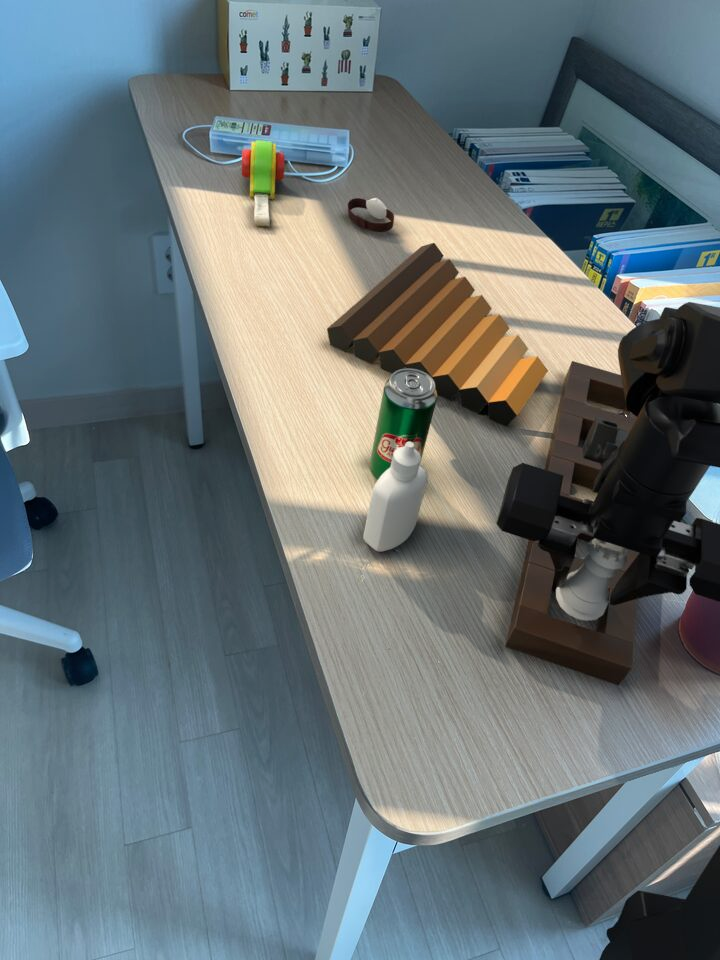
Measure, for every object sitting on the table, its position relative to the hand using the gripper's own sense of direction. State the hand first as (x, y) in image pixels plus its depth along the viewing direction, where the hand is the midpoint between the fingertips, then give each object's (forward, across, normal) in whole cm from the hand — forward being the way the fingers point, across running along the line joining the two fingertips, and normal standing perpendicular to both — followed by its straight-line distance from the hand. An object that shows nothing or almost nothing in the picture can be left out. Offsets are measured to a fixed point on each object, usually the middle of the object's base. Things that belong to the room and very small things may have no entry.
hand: (585, 591), depth 65 cm
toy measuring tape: (+4, +55, -58) cm, 80 cm away
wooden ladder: (+4, 0, -15) cm, 16 cm away
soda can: (+5, +20, -11) cm, 23 cm away
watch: (+4, +38, -59) cm, 70 cm away
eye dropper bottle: (+5, +18, -3) cm, 19 cm away
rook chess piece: (+2, 0, 0) cm, 2 cm away
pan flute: (+4, +19, -38) cm, 43 cm away
